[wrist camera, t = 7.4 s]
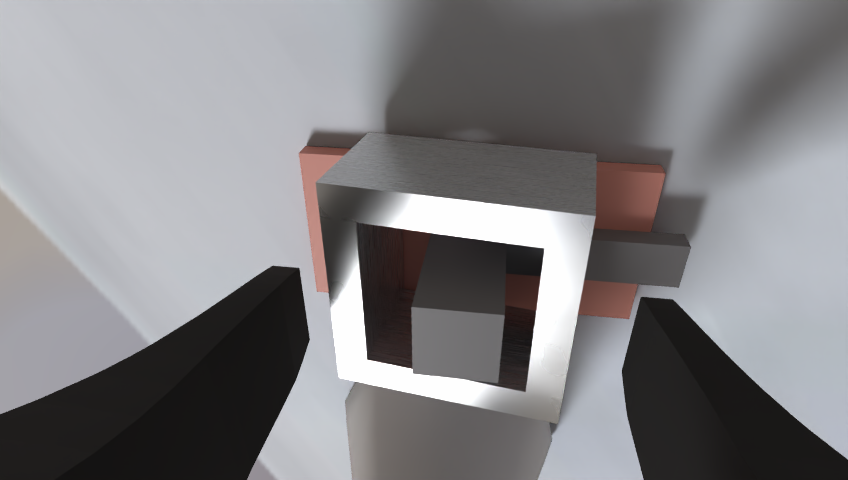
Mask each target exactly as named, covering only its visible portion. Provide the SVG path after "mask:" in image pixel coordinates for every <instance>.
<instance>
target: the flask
mask: <svg viewBox="0 0 848 480" xmlns="http://www.w3.org/2000/svg"><path fill="white" fill-rule="evenodd" d="M345 404H346V420H347V431H348V441H349V451H350V461H351V471H352V480H537V479H538V477H539V474H540V472H541V469H542V467H543V464H544V461H545V459H546V456H547V453H548V450H549V447H550V444H551V442H552V436H551V429H550V422H546V421H541V420H536V419H531V418H527V417H522V416H517V415H513V414H508V413H503V412H498V411H494V410H489V409H484V408H480V407H475V406H470V405H465V404H461V403H456V402H451V401H447V400H442V399H437V398H432V397H428V396H423V395H418V394H414V393H409V392H404V391H399V390H395V389H390V388H385V387H381V386H376V385H371V384H366V383H362V382H357V381H356V383H355V384H354V386H353V388H352V390H351V391H350V393H349V395H348V397H347V398H346V400H345Z"/></svg>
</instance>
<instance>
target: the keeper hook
mask: <svg viewBox="0 0 848 480" xmlns="http://www.w3.org/2000/svg"><path fill="white" fill-rule="evenodd" d="M349 150H350V149H349V148H330V147H311V146H305V147H304V148H303V149H302V150H301V152H300V153H299V157H300V165H301V173H302V180H303V188H304V196H305V204H306V211H307V219H308V227H309V234H310V242H311V250H312V257H313V265H314V273H315V280H316V288H317V292H328V293H329V291H328V282H327V274H326V266H325V258H324V249H323V241H322V233H321V224H320V216H319V208H318V200H317V191H316V183H315V182H316V181H317V180H318V179H320V178H321V177H322V176H323V175H324V174H325V173H326V172H327V171H328V170H329V169H330V168H331V167H332V166H333V165H334V164H336V163H337V162H338V161H339V160H340V159H341V158H342V157H343V156H344V155H345V154H346V153H347V152H348V151H349ZM665 174H666V173H665V172H664V170H663V168H662V166H661V165H648V164H629V163H610V162H597V171H596V218H595V223H594V228H593V234H592V239H591V245H590V250H589V256H588V261H587V267H586V272H585V278H584V283H583V289H582V294H581V300H580V305H579V311H578V315H590V316H601V317H612V318H624V319H629V317H630V313H631V309H632V305H633V301H634V297H635V293H636V289H637V285H638V284H641V285H654V286H666V287H679V285H680V282H681V278H682V275H683V272H684V269H685V265H686V262H687V259H688V255H689V252H690V249H691V246H690V244H689V242H688V240H687V239H686V237H685V235H684V234H671V233H657V232H651V230H652V226H653V222H654V218H655V214H656V210H657V206H658V202H659V198H660V194H661V190H662V186H663V182H664V178H665ZM544 249H545V248H538V247H531V246H524V245H516V244H509V243H502V242H495V241H487V240H480V239H473V238H465V237H458V236H451V235H444V234H436V233H429V232H422V231H415V230H407V229H403V259H404V289H409V290H415V295H414V299H413V303H412V307H411V314H412V372H413V374H416V375H425V376H435V377H444V378H454V379H463V380H473V381H482V382H492V383H498V378H499V368H500V358H501V348H502V338H503V327H504V317H505V305H506V306H512V307H519V308H525V309H531V310H537V303H538V295H539V287H540V280H541V272H542V265H543V257H544Z"/></svg>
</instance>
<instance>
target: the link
mask: <svg viewBox="0 0 848 480" xmlns="http://www.w3.org/2000/svg"><path fill="white" fill-rule="evenodd" d="M596 171H597V154H593V153H583V152H572V151H562V150H551V149H541V148H530V147H519V146H509V145H498V144H488V143H477V142H467V141H456V140H445V139H435V138H424V137H414V136H403V135H393V134H382V133H372V132H369V133H368V134H366V135H365V136H364V137H363V138H362V139H361V140H360V141H359V142H358V143H357V144H356V145H355V146H354V147H353V148H352V149H350V150H349V151H348V152H347V153H346V154H345V155H344V156H343V157H342V158H341V159H340V160H339V161H338V162H337V163H336V164H334V165H333V166H332V167H331V168H330V169H329V170H328V171H327V172H326V173H325V174H324V175H323V176H322V177H321V178H320V179H318V180H317V181H316V182H315V183H316V191H317V200H318V208H319V216H320V224H321V233H322V241H323V249H324V258H325V266H326V274H327V282H328V291H329V299H330V307H331V316H332V324H333V332H334V341H335V349H336V357H337V365H338V374H339V378H343V379H348V380H352V381H357V382H362V383H366V384H371V385H376V386H381V387H385V388H390V389H395V390H399V391H404V392H409V393H414V394H418V395H423V396H428V397H432V398H437V399H442V400H447V401H451V402H456V403H461V404H465V405H470V406H475V407H480V408H484V409H489V410H494V411H498V412H503V413H508V414H513V415H517V416H522V417H527V418H531V419H536V420H541V421H546V422H550V423H555V424H558V420H559V415H560V409H561V404H562V398H563V393H564V388H565V382H566V377H567V371H568V366H569V360H570V355H571V349H572V344H573V338H574V333H575V327H576V322H577V316H578V311H579V305H580V300H581V294H582V289H583V283H584V278H585V272H586V267H587V261H588V256H589V250H590V245H591V239H592V234H593V228H594V223H595V218H596ZM403 229H407V230H415V231H422V232H429V233H436V234H444V235H451V236H458V237H465V238H473V239H480V240H487V241H495V242H502V243H509V244H516V245H524V246H531V247H538V248H545V249H544V257H543V265H542V272H541V280H540V287H539V295H538V303H537V310H531V309H525V308H519V307H512V306H506V305H505V317H504V327H503V338H502V348H501V358H500V368H499V378H498V383H492V382H482V381H473V380H463V379H454V378H444V377H435V376H425V375H416V374H413V372H412V314H411V307H412V303H413V299H414V295H415V290H409V289H404V259H403Z"/></svg>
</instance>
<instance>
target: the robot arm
mask: <svg viewBox="0 0 848 480" xmlns="http://www.w3.org/2000/svg"><path fill="white" fill-rule="evenodd" d="M309 340H310V338H309V332H308V325H307V318H306V311H305V304H304V297H303V291H302V284H301V277H300V270H299V268H293V267H281V266H272V267H270V268H268V269H267V270H265V271H264V272H262V273H260V274H259V275H257V276H256V277H254V278H253V279H252V280H250V281H249V282H247V283H246V284H244V285H243V286H241V287H240V288H238V289H237V290H236V291H234V292H233V293H231V294H230V295H228V296H227V297H225V298H224V299H222V300H221V301H219V302H218V303H216V304H215V305H213V306H212V307H211V308H209V309H208V310H206V311H205V312H203V313H202V314H200V315H199V316H197V317H195V318H194V319H192V320H191V321H189V322H187V323H186V324H184V325H183V326H181V327H179V328H178V329H176V330H174V331H173V332H171V333H170V334H168V335H166V336H165V337H163V338H162V339H160V340H158V341H157V342H155V343H153V344H152V345H150V346H148V347H146V348H145V349H143V350H141V351H139V352H137V353H135V354H134V355H132V356H130V357H128V358H126V359H124V360H122V361H120V362H118V363H116V364H115V365H112V366H111V367H109V368H107V369H105V370H103V371H101V372H99V373H97V374H94V375H92V376H90V377H88V378H86V379H83V380H81V381H79V382H77V383H74V384H72V385H70V386H68V387H65V388H63V389H61V390H59V391H56V392H54V393H52V394H50V395H48V396H45V397H43V398H41V399H38V400H36V401H33V402H31V403H28V404H26V405H23V406H21V407H18V408H15V409H13V410H10V411H8V412H5V413H3V414H0V480H247V478H248V476H249V474H250V471H251V469H252V467H253V465H254V463H255V461H256V459H257V457H258V455H259V453H260V451H261V449H262V447H263V445H264V443H265V441H266V439H267V437H268V435H269V433H270V431H271V429H272V427H273V425H274V423H275V421H276V419H277V417H278V415H279V413H280V411H281V409H282V407H283V405H284V403H285V401H286V399H287V397H288V395H289V393H290V391H291V389H292V387H293V385H294V383H295V381H296V378H297V376H298V373H299V370H300V367H301V364H302V362H303V358H304V355H305V352H306V349H307V346H308V343H309ZM622 377H623V386H624V395H625V402H626V410H627V417H628V421H629V425H630V429H631V433H632V436H633V440H634V444H635V448H636V452H637V456H638V459H639V463H640V467H641V471H642V474H643V478H644V480H848V460H847V459H846V458H845V457H844V456H842V455H841V454H840V453H838V452H837V451H836V450H835V449H833V448H832V447H831V446H829V445H828V444H827V443H826V442H824V441H823V440H822V439H820V438H819V437H818V436H817V435H815V434H814V433H813V432H811V431H810V430H809V429H808V428H807V427H805V426H804V425H803V424H802V423H801V422H799V421H798V420H797V419H796V418H795V417H793V416H792V415H791V414H790V413H789V412H788V411H787V410H785V409H784V408H783V407H782V406H781V405H780V404H779V403H777V402H776V401H775V400H774V399H773V398H772V397H771V396H770V395H768V394H767V393H766V392H765V391H764V390H763V389H762V388H761V387H760V386H759V385H757V384H756V383H755V382H754V381H753V380H752V379H751V378H750V377H749V376H748V375H747V374H746V373H745V372H744V371H743V370H742V369H741V368H740V367H739V366H738V365H737V364H735V363H734V362H733V361H732V360H731V359H730V358H729V357H728V356H727V355H726V354H725V353H724V352H723V351H722V350H721V349H720V348H719V347H718V345H717V344H716V343H715V342H714V341H713V340H712V339H711V338H710V337H709V336H708V335H707V334H706V333H705V332H704V331H703V330H702V329H701V328H700V327H699V326H698V325H697V324H696V323H695V322H694V321H693V320H692V319H691V317H690V316H689V315H688V314H687V313H686V312H685V311H684V310H683V309H682V308H681V307H680V306H679V305H678V304H677V303H676V302H675V301H674V300H673V299H661V298H649V297H641V299H640V303H639V307H638V310H637V314H636V318H635V322H634V326H633V330H632V334H631V337H630V341H629V345H628V349H627V353H626V357H625V360H624V364H623V368H622Z"/></svg>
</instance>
